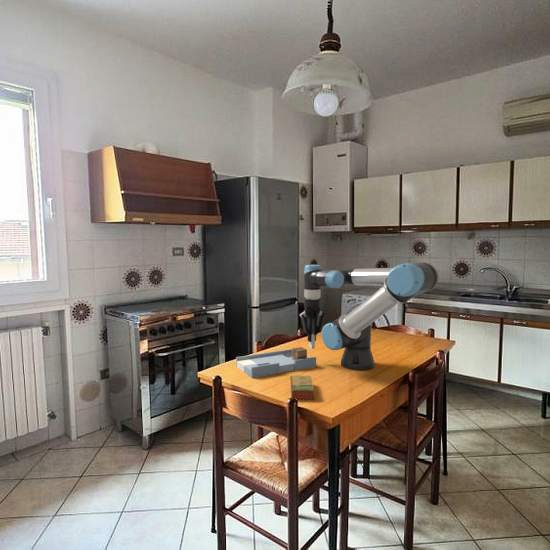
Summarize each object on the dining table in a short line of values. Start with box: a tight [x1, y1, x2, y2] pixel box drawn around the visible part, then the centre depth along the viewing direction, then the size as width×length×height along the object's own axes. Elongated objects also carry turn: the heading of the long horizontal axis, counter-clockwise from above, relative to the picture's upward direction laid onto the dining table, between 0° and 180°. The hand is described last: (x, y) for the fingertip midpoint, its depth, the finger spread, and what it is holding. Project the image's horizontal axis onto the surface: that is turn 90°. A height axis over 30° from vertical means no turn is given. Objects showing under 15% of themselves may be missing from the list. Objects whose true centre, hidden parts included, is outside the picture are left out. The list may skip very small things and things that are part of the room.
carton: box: [289, 375, 315, 401], centre depth 152 cm, size 8×16×4 cm, turn 0°
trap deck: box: [235, 348, 317, 379], centre depth 183 cm, size 18×32×4 cm, turn 118°
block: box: [291, 346, 308, 360], centre depth 183 cm, size 5×5×5 cm
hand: (311, 348), depth 187 cm, fingers closed
